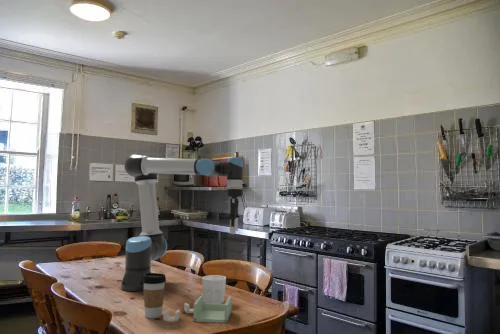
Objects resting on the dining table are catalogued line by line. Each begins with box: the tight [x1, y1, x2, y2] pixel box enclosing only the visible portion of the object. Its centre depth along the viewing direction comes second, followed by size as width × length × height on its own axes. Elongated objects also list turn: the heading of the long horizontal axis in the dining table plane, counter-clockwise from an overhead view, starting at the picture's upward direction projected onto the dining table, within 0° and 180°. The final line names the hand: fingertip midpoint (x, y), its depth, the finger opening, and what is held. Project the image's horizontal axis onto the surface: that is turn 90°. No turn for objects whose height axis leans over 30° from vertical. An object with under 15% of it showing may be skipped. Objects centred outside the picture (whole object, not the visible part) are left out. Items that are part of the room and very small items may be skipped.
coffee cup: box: [143, 272, 167, 319], centre depth 141 cm, size 8×8×15 cm
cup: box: [201, 274, 227, 304], centre depth 159 cm, size 10×10×10 cm
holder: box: [192, 294, 233, 324], centre depth 140 cm, size 12×12×6 cm
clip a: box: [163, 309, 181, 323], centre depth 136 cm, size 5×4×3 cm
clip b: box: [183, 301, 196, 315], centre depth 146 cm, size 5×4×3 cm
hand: (233, 232), depth 186 cm, fingers open, 13 cm apart
